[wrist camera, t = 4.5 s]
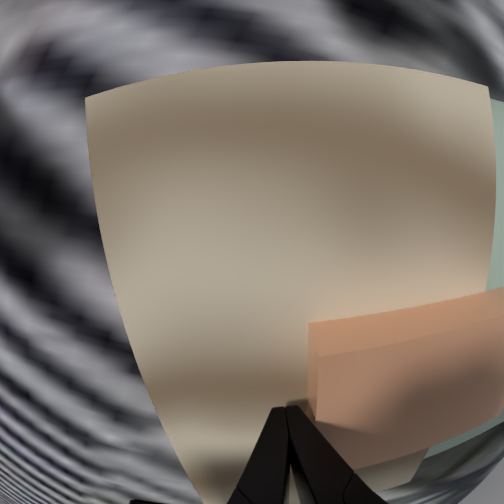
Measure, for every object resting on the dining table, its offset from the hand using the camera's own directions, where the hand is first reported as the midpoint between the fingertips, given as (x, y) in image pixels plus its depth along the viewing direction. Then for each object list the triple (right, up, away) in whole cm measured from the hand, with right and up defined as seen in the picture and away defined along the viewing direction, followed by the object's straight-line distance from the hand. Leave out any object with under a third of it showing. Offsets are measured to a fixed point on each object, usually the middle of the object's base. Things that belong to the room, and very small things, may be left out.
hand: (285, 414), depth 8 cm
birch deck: (+1, +1, +3) cm, 3 cm away
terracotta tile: (+5, +1, +1) cm, 5 cm away
